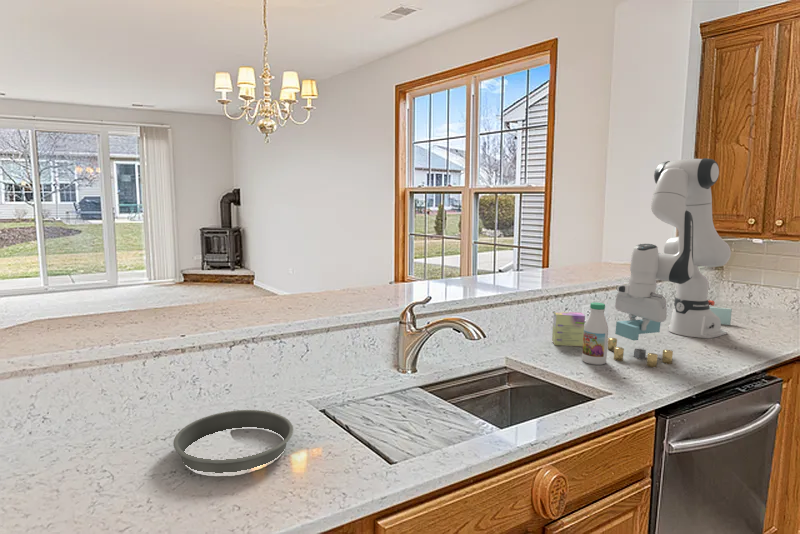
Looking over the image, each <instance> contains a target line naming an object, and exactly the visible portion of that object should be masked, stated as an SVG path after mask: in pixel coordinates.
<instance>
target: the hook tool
mask: <svg viewBox="0 0 800 534" xmlns="http://www.w3.org/2000/svg"><path fill="white" fill-rule="evenodd" d="M642 323H643V321H642V319H636V320H630V319H629V320H620V321H618V320H617V321H616V324H615V335H617V336H620V337H622V338H625V339H628V340H631V341H638V340H639V335H643V334H653V333H654V334H655V333H660V330H661V323H662V322H655V321H652V320H650V322H649V323H648V325H647V326H646V330H644V331H643V330H640V329H639V325H642Z"/></svg>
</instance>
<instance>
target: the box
mask: <svg viewBox="0 0 800 534" xmlns="http://www.w3.org/2000/svg"><path fill="white" fill-rule="evenodd" d="M585 320H586V315H585V314H584V313H583V312H576V311H575V312H574V311H573V312H572V311H553V322H552V336H551V337H552V338H551V340H552V341H553V342H552V341H551V342H552V343H553V344H554V346H565V347H566V346H567V347H569V346H571V347H581V348H583V335H584V326H585V323H586V321H585Z"/></svg>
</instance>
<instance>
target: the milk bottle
mask: <svg viewBox="0 0 800 534" xmlns="http://www.w3.org/2000/svg"><path fill="white" fill-rule="evenodd" d="M589 307H590V312H589V315H588V318H587V319H586V321H585V325H584V335H583V347H582V351H581V360H582V362H584V363H586V364H589V365H597V366H600V365H601V366H602V365H605V364H606V363H607V358H608V357H607V356H608V349H607V348H608V338H609V325H608V322H607V320H606V317H605V311H606V310H605V309H606V304H605V303H603V302H597V301H596V302H595V301H594V302H590V305H589Z"/></svg>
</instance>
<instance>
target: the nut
mask: <svg viewBox="0 0 800 534" xmlns="http://www.w3.org/2000/svg"><path fill="white" fill-rule="evenodd" d="M633 357H634V358H636V357H637V359H639V358H645V359H646V358H647V350H646V349H643V348H634V350H633Z"/></svg>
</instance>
